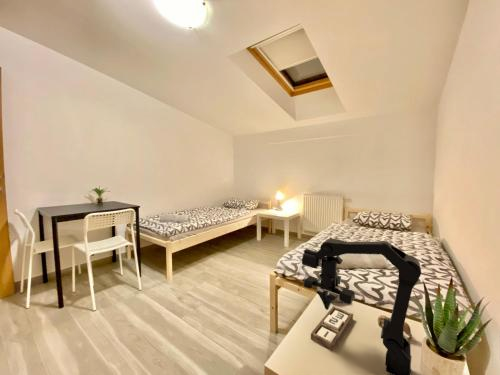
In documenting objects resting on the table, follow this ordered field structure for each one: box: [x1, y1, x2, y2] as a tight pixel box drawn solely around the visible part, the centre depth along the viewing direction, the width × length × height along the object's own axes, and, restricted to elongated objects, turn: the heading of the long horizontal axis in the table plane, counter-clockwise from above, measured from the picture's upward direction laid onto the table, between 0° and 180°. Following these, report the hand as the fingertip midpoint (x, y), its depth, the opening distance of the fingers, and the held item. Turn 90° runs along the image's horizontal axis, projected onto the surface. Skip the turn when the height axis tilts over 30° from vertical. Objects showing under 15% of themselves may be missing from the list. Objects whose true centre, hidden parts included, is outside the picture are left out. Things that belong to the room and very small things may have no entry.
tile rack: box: [310, 305, 354, 352], centre depth 93 cm, size 9×24×2 cm, turn 139°
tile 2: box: [324, 315, 343, 331], centre depth 93 cm, size 6×6×2 cm
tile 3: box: [332, 310, 348, 322], centre depth 99 cm, size 6×6×2 cm
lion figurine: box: [377, 314, 413, 341], centre depth 89 cm, size 15×5×9 cm, turn 94°
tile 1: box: [317, 327, 336, 342], centre depth 87 cm, size 6×6×2 cm
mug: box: [328, 291, 343, 303], centre depth 113 cm, size 8×10×10 cm
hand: (327, 309), depth 86 cm, fingers closed
